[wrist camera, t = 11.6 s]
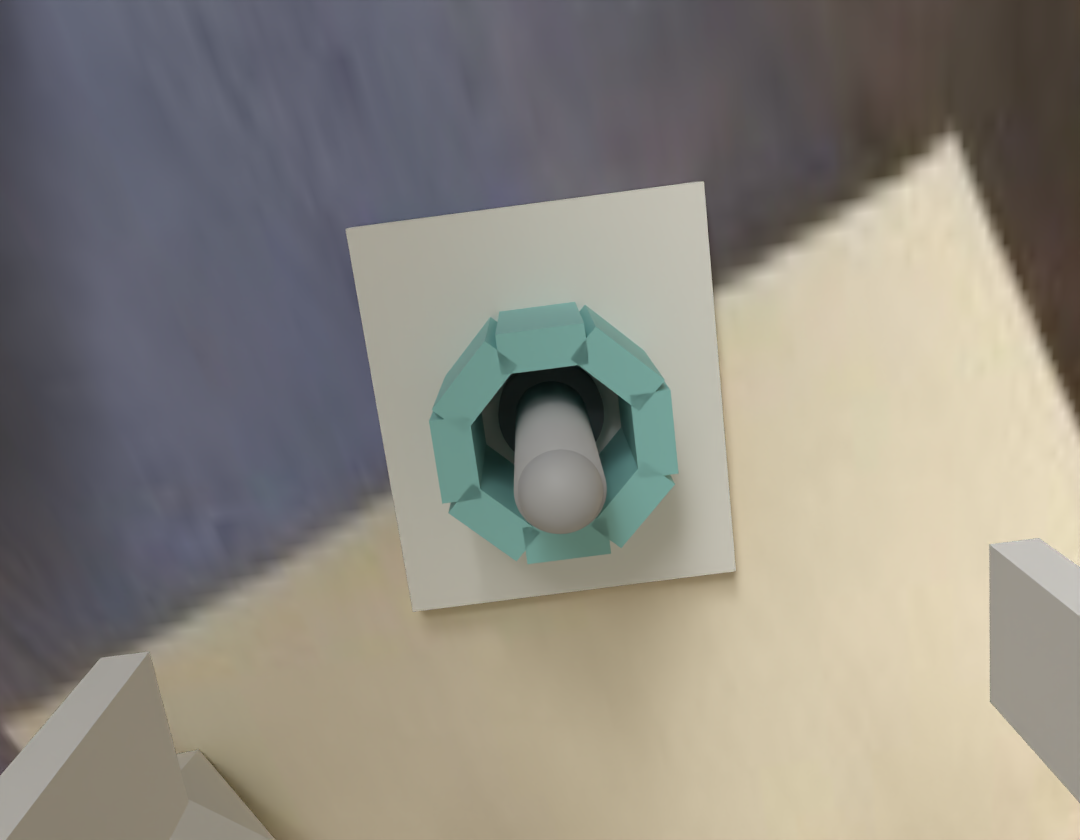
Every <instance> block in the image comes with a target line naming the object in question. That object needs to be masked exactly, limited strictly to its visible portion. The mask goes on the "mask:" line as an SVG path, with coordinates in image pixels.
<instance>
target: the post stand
mask: <svg viewBox="0 0 1080 840" xmlns="http://www.w3.org/2000/svg"><path fill="white" fill-rule="evenodd" d="M346 235H347V240H348V246H349V252H350V257H351V263H352V269H353V275H354V280H355V286H356V292H357V297H358V303H359V309H360V314H361V320H362V326H363V331H364V337H365V343H366V348H367V354H368V360H369V365H370V371H371V377H372V382H373V388H374V394H375V399H376V405H377V411H378V416H379V422H380V428H381V433H382V439H383V445H384V451H385V456H386V462H387V468H388V473H389V479H390V485H391V490H392V496H393V502H394V507H395V513H396V519H397V524H398V530H399V536H400V541H401V547H402V553H403V558H404V564H405V570H406V575H407V581H408V587H409V592H410V598H411V604H412V609H413V612H416V611H424V610H431V609H439V608H447V607H455V606H463V605H471V604H479V603H487V602H495V601H503V600H511V599H519V598H527V597H535V596H543V595H551V594H559V593H567V592H574V591H582V590H590V589H598V588H606V587H614V586H622V585H630V584H638V583H646V582H654V581H662V580H670V579H678V578H686V577H694V576H702V575H709V574H717V573H725V572H733V571H736V566H735V554H734V542H733V530H732V517H731V505H730V493H729V481H728V469H727V457H726V445H725V432H724V420H723V408H722V396H721V384H720V372H719V360H718V347H717V335H716V323H715V311H714V299H713V287H712V275H711V262H710V250H709V238H708V226H707V214H706V202H705V190H704V182H690V183H683V184H675V185H668V186H660V187H652V188H645V189H637V190H630V191H622V192H615V193H607V194H599V195H592V196H584V197H577V198H569V199H562V200H554V201H546V202H539V203H531V204H524V205H516V206H509V207H501V208H493V209H486V210H478V211H471V212H463V213H455V214H448V215H440V216H433V217H425V218H418V219H410V220H402V221H395V222H387V223H380V224H372V225H365V226H357V227H351V228H347V229H346ZM569 302H575V303H576V305H577V308H578V310H579V311H580V310H581V309H582V307H583V306H584V305H586V306H588V307H589V308H590V309H591V310H593V311H594V312H595V313H597V314H598V315H599V316H600V317H602V318H603V319H604V320H606V321H607V322H608V323H609V324H611V325H612V326H613V327H615V328H616V329H617V330H618V331H620V332H621V333H622V334H624V335H625V336H626V337H627V338H629V339H630V340H631V341H633V342H634V343H635V344H636V345H638V346H639V347H640V348H642V349H643V350H644V351H645V353H646V354H647V355H648V357H649V358H650V360H651V361H652V362H653V364H654V365H655V367H656V368H657V369H658V371H659V372H660V374H661V375H662V376H663V378H664V379H665V383H666V384H667V386H668V387H669V389H670V390H671V399H672V410H673V420H674V431H675V441H676V452H677V462H678V472H679V474H671V477H672V479H673V481H674V483H675V485H674V486H673V487H672V489H671V490H670V491H669V492H668V493H667V495H666V496H665V497H664V498H663V499H662V501H661V502H660V503H659V504H658V505H657V506H656V508H655V509H654V510H653V511H652V512H651V514H650V515H649V516H648V517H647V518H646V519H645V521H644V522H643V523H642V524H641V525H640V527H639V528H638V529H637V530H636V531H635V533H634V534H633V535H632V536H631V537H630V538H629V540H628V541H627V542H626V543H625V544H624V546H623V547H622V548H620V547H619V546H617V545H616V544H615V543H613V542H612V541H611V540H610V548H611V554H605V555H597V556H589V557H581V558H573V559H565V560H557V561H549V562H542V563H534V564H527V557H526V550H525V552H524V553H523V554H522V555H521V557H520V558H519V559H518V560H517V561H515V560H514V559H512V558H511V557H509V556H508V555H507V554H505V553H504V552H502V551H501V550H499V549H498V548H497V547H495V546H494V545H492V544H491V543H490V542H488V541H487V540H485V539H484V538H483V537H481V536H480V535H478V534H477V533H476V532H474V531H473V530H471V529H470V528H468V527H467V526H466V525H464V524H463V523H461V522H460V521H459V520H457V519H456V518H454V517H453V516H452V515H450V514H449V513H448V512H449V508H450V504H451V503H444V504H442V499H441V493H440V487H439V480H438V474H437V468H436V462H435V456H434V450H433V443H432V437H431V431H430V425H429V420H430V417H431V414H432V412H433V411H432V408H433V405H434V403H435V400H436V398H437V395H438V393H439V390H440V388H441V385H442V383H443V380H444V378H445V376H446V374H447V373H448V372H449V370H450V369H451V368H452V366H453V365H454V364H455V363H456V361H457V360H458V359H459V357H460V356H461V355H462V353H463V352H464V351H465V349H466V348H467V347H468V345H469V344H470V343H471V342H472V340H473V339H474V338H475V336H476V335H477V334H478V332H479V331H480V330H481V328H482V327H483V326H484V324H485V323H486V322H487V321H488V319H489V318H490V317H491V318H493V319H494V320H495V321H497V322H498V316H499V312H500V311H507V310H515V309H523V308H531V307H538V306H546V305H554V304H561V303H569ZM482 418H483V425H484V432H485V439H486V444H487V445H488V446H489V447H491V448H492V449H494V450H495V451H496V452H498V453H499V454H500V455H502V456H503V457H505V458H506V459H507V460H509V461H510V462H511V463H513V464H514V498H515V502H516V505H517V508H518V510H519V512H520V513H521V515H522V516H523V517H524V518H525V520H526V521H527V522H529V523H530V524H531V525H532V526H534V527H535V528H537V529H539V530H541V531H544V532H547V533H552V534H567V533H572V532H575V531H578V530H580V529H582V528H584V527H586V526H587V525H589V524H590V523H591V522H592V521H593V520H594V519H595V518H596V517H597V516H598V514H599V513H600V512H601V510H602V508H603V506H604V503H605V499H606V493H607V484H606V479H605V475H604V472H603V468H602V465H601V461H600V457H599V454H600V452H601V451H602V450H603V449H604V447H605V446H606V445H607V444H608V443H609V441H610V440H611V439H612V438H613V436H614V435H615V434H616V433H617V432H618V430H619V429H620V428H621V420H620V411H619V402H618V395H617V394H616V393H614V392H613V391H612V390H611V389H609V388H608V387H607V386H605V385H604V384H603V383H601V382H600V381H599V380H597V379H596V378H595V377H594V376H592V375H591V374H590V373H588V372H587V371H586V370H584V369H583V368H582V367H580V366H579V365H575V366H567V367H560V368H552V369H544V370H536V371H529V372H521V373H513V374H511V375H510V376H509V377H508V378H507V380H506V381H505V382H504V384H503V385H502V386H501V387H500V389H499V390H498V391H497V393H496V394H495V395H494V396H493V398H492V399H491V400H490V402H489V403H488V404H487V405H486V407H485V408H484V409H483V411H482Z"/></svg>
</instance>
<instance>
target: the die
mask: <svg viewBox="0 0 1080 840" xmlns="http://www.w3.org/2000/svg"><path fill="white" fill-rule="evenodd" d="M176 755H177V759H178V763H179V767H180V770H181V774H182V778H183V782H184V786H185V790H186V793H187V797H188V801H189V803H188V805H187V807H186V809H185V811H184V813H183V815H182V817H181V819H180V821H179V822H178V824H177V826H176V828H175V830H174V832H173V834H172V836H171V838H170V840H275V839H274V837H273V836H272V835H271V834H270V833H269V832H268V830H267V829H266V828H265V827H264V826H263V824H262V823H261V822H260V821H259V820H258V819H257V817H256V816H255V815H254V814H253V813H252V811H251V810H250V809H249V808H248V807H247V806H246V804H245V803H244V802H243V801H242V800H241V799H240V797H239V796H238V795H237V794H236V793H235V791H234V790H233V789H232V788H231V787H230V786H229V784H228V783H227V782H226V781H225V780H224V778H223V777H222V776H221V775H220V774H219V773H218V771H217V770H216V769H215V768H214V767H213V766H212V764H211V763H210V762H209V761H208V760H207V758H206V757H205V756H204V755H203V754H202V753H201V751H200V750H194V751H189V752H183V753H178V754H176Z"/></svg>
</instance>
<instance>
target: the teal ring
mask: <svg viewBox="0 0 1080 840" xmlns="http://www.w3.org/2000/svg"><path fill="white" fill-rule="evenodd" d="M575 365H579V366H580V367H582V368H583V369H584V370H586V371H587V372H588V373H590V374H591V375H592V376H594V377H595V378H596V379H597V380H599V381H600V382H601V383H603V384H604V385H605V386H607V387H608V388H609V389H611V390H612V391H613V392H614V393H616V394H617V395H618V402H619V411H620V420H621V428H620V429H619V430H618V432H617V433H616V434H615V435H614V436H613V438H612V439H611V440H610V441H609V443H608V444H607V445H606V446H605V447H604V449H603V450H602V451H601V452H600V454H599V457H600V461H601V465H602V468H603V472H604V475H605V479H606V484H607V493H606V499H605V503H604V506H603V508H602V510H601V512H600V513H599V514H598V516H597V517H596V518H595V519H594V520H593V521H592V522H591V523H590V524H589V525H587V526H586V527H584V528H582V529H580V530H578V531H575V532H572V533H567V534H552V533H547V532H544V531H541V530H539V529H537V528H535V527H534V526H532V525H531V524H530V523H529V522H527V521H526V520H525V518H524V517H523V516H522V515H521V513H520V512H519V510H518V508H517V505H516V502H515V498H514V464H513V463H511V462H510V461H509V460H507V459H506V458H505V457H503V456H502V455H500V454H499V453H498V452H496V451H495V450H494V449H492V448H491V447H489V446H488V445H487V444H486V439H485V432H484V425H483V418H482V411H483V409H484V408H485V407H486V405H487V404H488V403H489V402H490V400H491V399H492V398H493V396H494V395H495V394H496V393H497V391H498V390H499V389H500V387H501V386H502V385H503V384H504V382H505V381H506V380H507V378H508V377H509V376H510V375H511V374H513V373H521V372H529V371H536V370H544V369H552V368H560V367H567V366H575ZM432 411H433V412H432V414H431V417H430V420H429V425H430V431H431V437H432V443H433V450H434V456H435V462H436V468H437V474H438V480H439V487H440V493H441V499H442V504H444V503H451V504H450V508H449V512H448V513H449V514H450V515H452V516H453V517H454V518H456V519H457V520H459V521H460V522H461V523H463V524H464V525H466V526H467V527H468V528H470V529H471V530H473V531H474V532H476V533H477V534H478V535H480V536H481V537H483V538H484V539H485V540H487V541H488V542H490V543H491V544H492V545H494V546H495V547H497V548H498V549H499V550H501V551H502V552H504V553H505V554H507V555H508V556H509V557H511V558H512V559H514V560H515V561H517V560H518V559H519V558H520V557H521V555H522V554H523V553H524V552H525V550H526V557H527V564H534V563H542V562H549V561H557V560H565V559H573V558H581V557H589V556H597V555H605V554H611V548H610V540H611V541H612V542H613V543H615V544H616V545H617V546H619V547H620V548H622V547H623V546H624V544H625V543H626V542H627V541H628V540H629V538H630V537H631V536H632V535H633V534H634V533H635V531H636V530H637V529H638V528H639V527H640V525H641V524H642V523H643V522H644V521H645V519H646V518H647V517H648V516H649V515H650V514H651V512H652V511H653V510H654V509H655V508H656V506H657V505H658V504H659V503H660V502H661V501H662V499H663V498H664V497H665V496H666V495H667V493H668V492H669V491H670V490H671V489H672V487H673V486H674V485H675V483H674V481H673V479H672V477H671V474H679V472H678V462H677V452H676V441H675V431H674V420H673V410H672V399H671V390H670V389H669V387H668V386H667V384H666V383H665V379H664V378H663V376H662V375H661V374H660V372H659V371H658V369H657V368H656V367H655V365H654V364H653V362H652V361H651V360H650V358H649V357H648V355H647V354H646V353H645V351H644V350H643V349H642V348H640V347H639V346H638V345H636V344H635V343H634V342H633V341H631V340H630V339H629V338H627V337H626V336H625V335H624V334H622V333H621V332H620V331H618V330H617V329H616V328H615V327H613V326H612V325H611V324H609V323H608V322H607V321H606V320H604V319H603V318H602V317H600V316H599V315H598V314H597V313H595V312H594V311H593V310H591V309H590V308H589V307H588V306H586V305H584V306H583V307H582V309H581V310H580V311H579V310H578V308H577V305H576V303H575V302H569V303H561V304H554V305H546V306H538V307H531V308H523V309H515V310H507V311H500V312H499V316H498V322H497V321H495V320H494V319H493V318H491V317H490V318H489V319H488V321H487V322H486V323H485V324H484V326H483V327H482V328H481V330H480V331H479V332H478V334H477V335H476V336H475V338H474V339H473V340H472V342H471V343H470V344H469V345H468V347H467V348H466V349H465V351H464V352H463V353H462V355H461V356H460V357H459V359H458V360H457V361H456V363H455V364H454V365H453V366H452V368H451V369H450V370H449V372H448V373H447V374H446V376H445V378H444V380H443V383H442V385H441V388H440V390H439V393H438V395H437V398H436V400H435V403H434V405H433V408H432Z"/></svg>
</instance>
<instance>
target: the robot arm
mask: <svg viewBox="0 0 1080 840" xmlns="http://www.w3.org/2000/svg"><path fill="white" fill-rule="evenodd" d="M989 566H990V702H991V703H992V705H993V706H994V707H995V708H996V709H997V710H998V711H999V712H1000V714H1001V715H1002V716H1003V717H1004V718H1005V719H1006V720H1007V721H1008V723H1009V724H1010V725H1011V726H1012V727H1013V728H1014V729H1015V731H1016V732H1017V733H1018V734H1019V735H1020V736H1021V737H1022V738H1023V740H1024V741H1025V742H1026V743H1027V744H1028V745H1029V746H1030V747H1031V749H1032V750H1033V751H1034V752H1035V753H1036V754H1037V755H1038V756H1039V758H1040V759H1041V760H1042V761H1043V762H1044V763H1045V764H1046V765H1047V767H1048V768H1049V769H1050V770H1051V771H1052V772H1053V773H1054V775H1055V776H1056V777H1057V778H1058V779H1059V780H1060V781H1061V782H1062V784H1063V785H1064V786H1065V787H1066V788H1067V789H1068V790H1069V791H1070V793H1071V794H1072V795H1073V796H1074V797H1075V798H1076V799H1077V800H1078V802H1079V803H1080V567H1079V566H1078V565H1076V564H1075V563H1073V562H1072V561H1071V560H1069V559H1068V558H1066V557H1065V556H1064V555H1062V554H1061V553H1059V552H1058V551H1056V550H1055V549H1054V548H1052V547H1051V546H1049V545H1048V544H1047V543H1045V542H1044V541H1042V540H1041V539H1040V538H1036V539H1028V540H1020V541H1012V542H1004V543H996V544H989ZM188 803H189V801H188V797H187V793H186V790H185V786H184V782H183V778H182V774H181V770H180V767H179V763H178V759H177V755H176V751H175V748H174V744H173V740H172V736H171V732H170V728H169V725H168V721H167V717H166V713H165V709H164V706H163V702H162V698H161V694H160V690H159V687H158V683H157V679H156V675H155V671H154V667H153V664H152V660H151V656H150V652H142V653H134V654H126V655H118V656H110V657H102V658H100V659H99V660H98V662H97V663H96V664H95V665H94V666H93V667H92V669H91V670H90V671H89V672H88V673H87V674H86V676H85V677H84V678H83V679H82V680H81V682H80V683H79V684H78V685H77V686H76V687H75V689H74V690H73V691H72V692H71V693H70V694H69V696H68V697H67V698H66V699H65V700H64V701H63V703H62V704H61V705H60V706H59V707H58V709H57V710H56V711H55V712H54V713H53V714H52V716H51V717H50V718H49V719H48V720H47V721H46V723H45V724H44V725H43V726H42V727H41V728H40V730H39V731H38V732H37V733H36V734H35V736H34V737H33V738H32V739H31V740H30V741H29V743H28V744H27V745H26V746H25V747H24V748H23V750H22V751H21V752H20V753H19V754H18V755H17V757H16V758H15V759H14V760H13V761H12V762H11V764H10V765H9V766H8V767H7V768H6V770H5V771H4V772H3V773H2V774H1V775H0V840H170V838H171V836H172V834H173V832H174V830H175V828H176V826H177V824H178V822H179V821H180V819H181V817H182V815H183V813H184V811H185V809H186V807H187V805H188Z"/></svg>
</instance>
